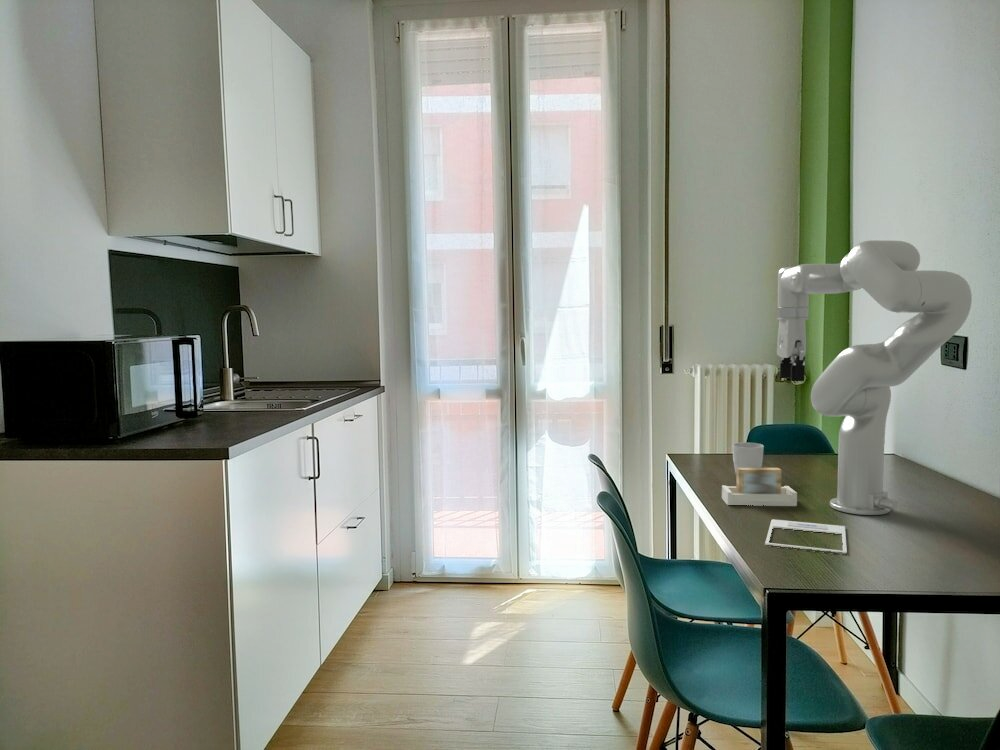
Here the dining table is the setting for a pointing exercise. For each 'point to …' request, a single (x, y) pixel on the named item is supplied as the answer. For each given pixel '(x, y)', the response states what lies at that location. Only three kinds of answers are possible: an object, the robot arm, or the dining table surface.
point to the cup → (747, 455)
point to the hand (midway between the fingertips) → (791, 379)
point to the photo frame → (807, 527)
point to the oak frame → (758, 481)
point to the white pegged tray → (759, 497)
